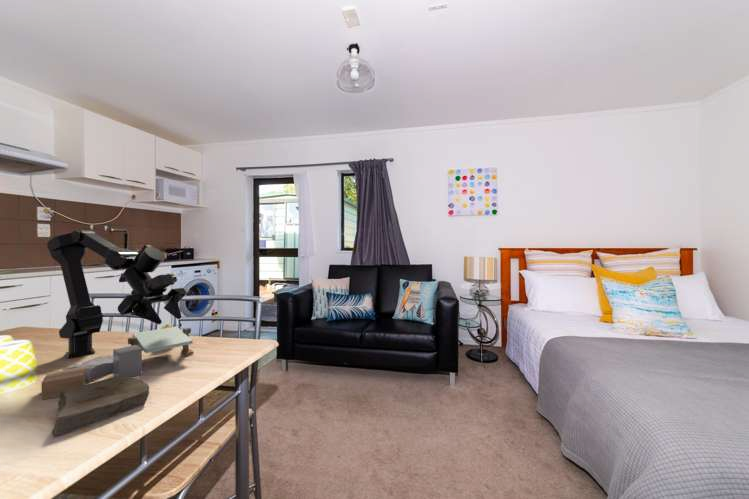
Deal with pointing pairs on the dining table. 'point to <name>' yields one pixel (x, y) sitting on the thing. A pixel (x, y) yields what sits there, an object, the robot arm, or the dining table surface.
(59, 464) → the dining table surface
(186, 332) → the trapdoor frame
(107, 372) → the stone block
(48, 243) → the robot arm
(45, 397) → the plinth
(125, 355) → the grey block
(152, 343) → the trapdoor
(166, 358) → the dining table surface
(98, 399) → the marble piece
